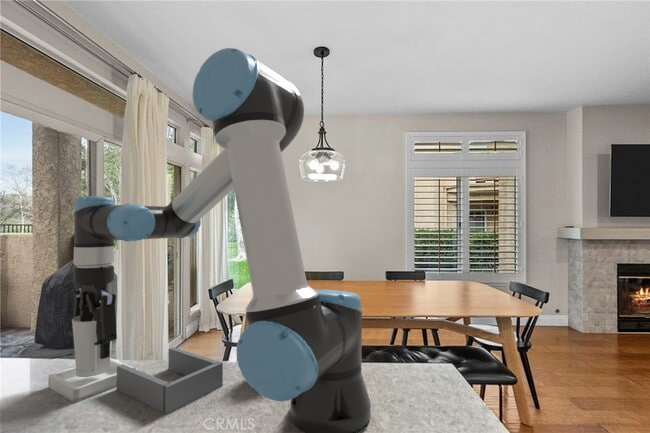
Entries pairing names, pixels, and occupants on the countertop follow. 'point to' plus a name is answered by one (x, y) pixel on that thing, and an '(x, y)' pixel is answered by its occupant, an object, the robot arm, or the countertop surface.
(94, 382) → the tray
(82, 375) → the cup
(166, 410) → the box
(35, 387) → the countertop surface
